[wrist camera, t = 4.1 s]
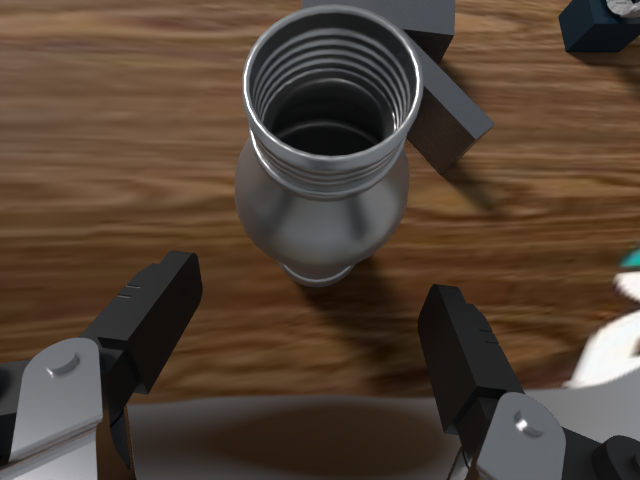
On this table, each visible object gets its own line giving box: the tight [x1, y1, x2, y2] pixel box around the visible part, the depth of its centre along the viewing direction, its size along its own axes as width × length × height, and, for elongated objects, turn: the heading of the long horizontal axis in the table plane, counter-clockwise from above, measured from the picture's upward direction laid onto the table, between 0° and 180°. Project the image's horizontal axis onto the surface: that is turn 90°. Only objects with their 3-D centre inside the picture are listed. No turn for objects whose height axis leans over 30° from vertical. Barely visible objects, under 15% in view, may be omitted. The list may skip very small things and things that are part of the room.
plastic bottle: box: [235, 4, 424, 287], centre depth 16 cm, size 6×7×20 cm
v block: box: [301, 0, 495, 174], centre depth 26 cm, size 18×14×6 cm
